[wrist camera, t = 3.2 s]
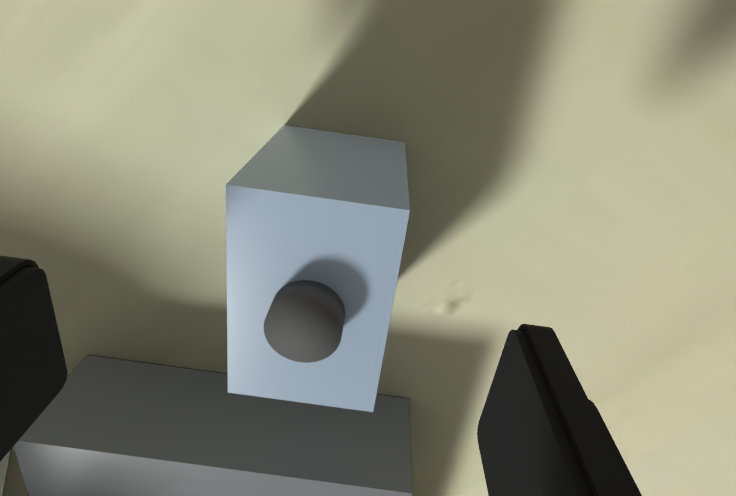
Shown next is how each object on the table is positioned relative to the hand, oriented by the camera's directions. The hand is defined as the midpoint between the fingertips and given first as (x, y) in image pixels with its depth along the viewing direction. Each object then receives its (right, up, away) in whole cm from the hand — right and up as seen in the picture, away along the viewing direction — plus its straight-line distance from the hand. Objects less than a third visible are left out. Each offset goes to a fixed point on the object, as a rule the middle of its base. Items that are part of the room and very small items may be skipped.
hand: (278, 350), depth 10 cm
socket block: (-4, -11, +14) cm, 18 cm away
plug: (+1, +3, +7) cm, 8 cm away
